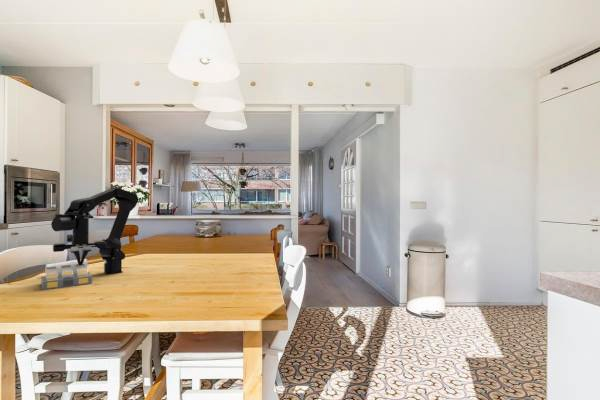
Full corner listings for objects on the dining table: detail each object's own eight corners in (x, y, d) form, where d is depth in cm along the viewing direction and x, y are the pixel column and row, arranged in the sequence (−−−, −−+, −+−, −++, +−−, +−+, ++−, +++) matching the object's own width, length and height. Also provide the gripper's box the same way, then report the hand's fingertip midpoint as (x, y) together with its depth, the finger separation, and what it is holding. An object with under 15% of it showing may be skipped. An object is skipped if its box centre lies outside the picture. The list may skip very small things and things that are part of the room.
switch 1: (56, 269, 137) (56, 266, 137) (57, 278, 130) (57, 275, 130) (45, 270, 135) (45, 267, 135) (46, 279, 128) (46, 276, 128)
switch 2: (70, 267, 140) (71, 264, 140) (73, 276, 134) (73, 273, 133) (60, 268, 138) (60, 265, 138) (62, 277, 131) (62, 274, 131)
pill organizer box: (87, 278, 146) (87, 270, 146) (92, 283, 136) (92, 275, 136) (41, 283, 135) (41, 275, 135) (42, 290, 126) (42, 281, 126)
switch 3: (85, 266, 144) (85, 263, 143) (88, 274, 137) (88, 271, 137) (74, 267, 141) (75, 264, 141) (77, 275, 135) (77, 272, 134)
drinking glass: (45, 279, 145) (86, 274, 151) (44, 263, 145) (85, 259, 151) (48, 277, 151) (87, 272, 157) (48, 261, 151) (87, 257, 157)
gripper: (102, 227, 154) (102, 261, 154) (52, 229, 142) (51, 265, 142) (107, 228, 145) (106, 264, 145) (53, 231, 134) (53, 270, 134)
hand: (80, 266), depth 142 cm, fingers closed, pressing on switch 3
